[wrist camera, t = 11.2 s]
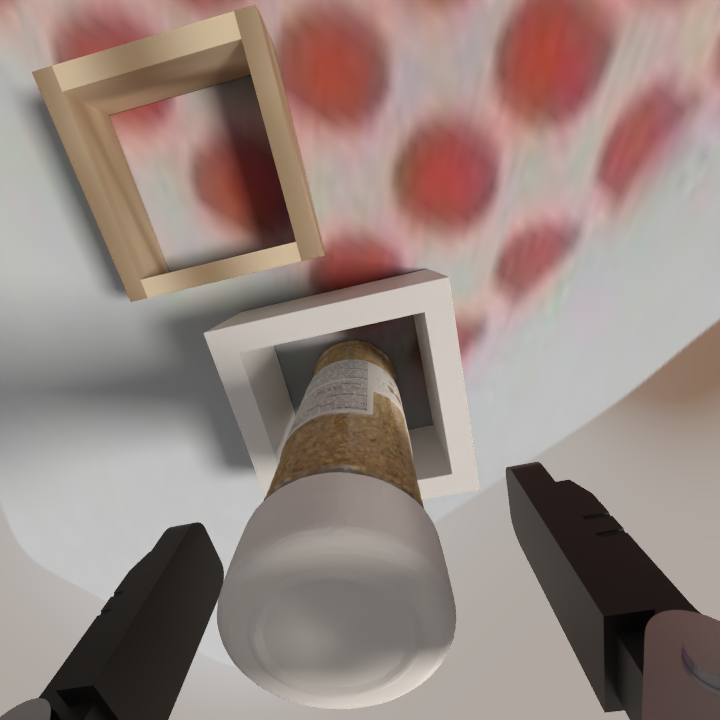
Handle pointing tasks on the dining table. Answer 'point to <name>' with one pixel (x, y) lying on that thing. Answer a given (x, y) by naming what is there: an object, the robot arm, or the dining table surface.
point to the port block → (340, 312)
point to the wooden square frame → (155, 83)
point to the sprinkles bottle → (341, 552)
